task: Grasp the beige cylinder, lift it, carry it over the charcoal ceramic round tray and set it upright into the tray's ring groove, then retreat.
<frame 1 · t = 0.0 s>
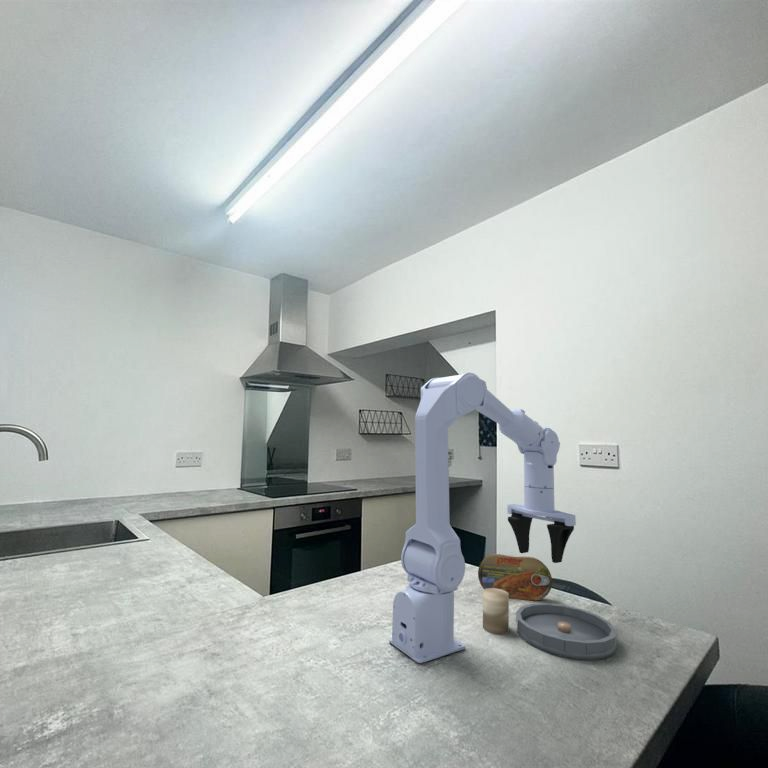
hand: (539, 557, 83), 10 cm above the worktop, tool pointing down, fingers open, 7 cm apart
round tray: (564, 636, 71), on the worktop
beige cylinder: (495, 628, 74), on the worktop
tin: (514, 597, 90), on the worktop
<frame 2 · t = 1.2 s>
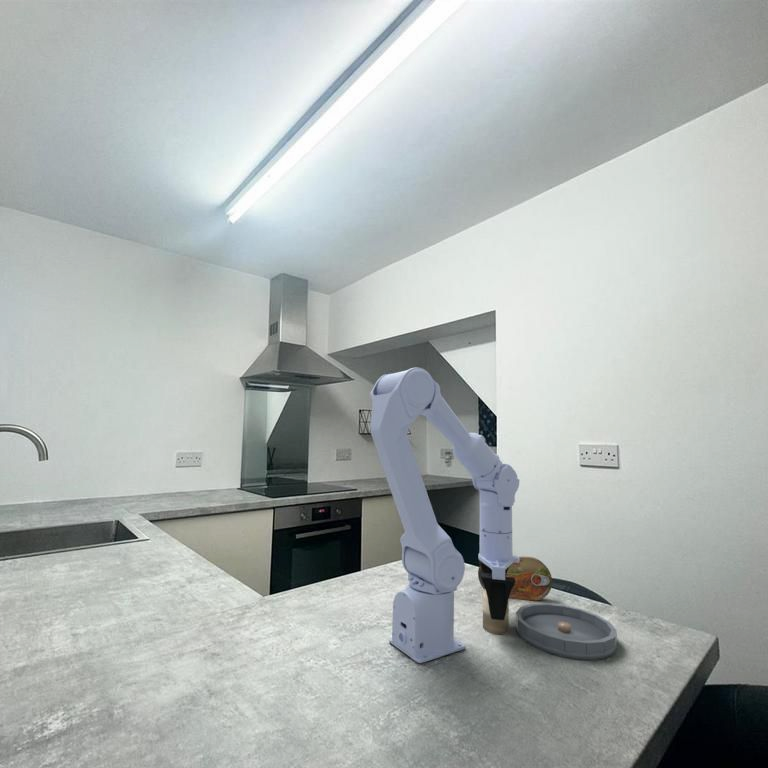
hand: (496, 610, 74), 3 cm above the worktop, tool pointing down, fingers open, 7 cm apart
nothing on the worktop moved.
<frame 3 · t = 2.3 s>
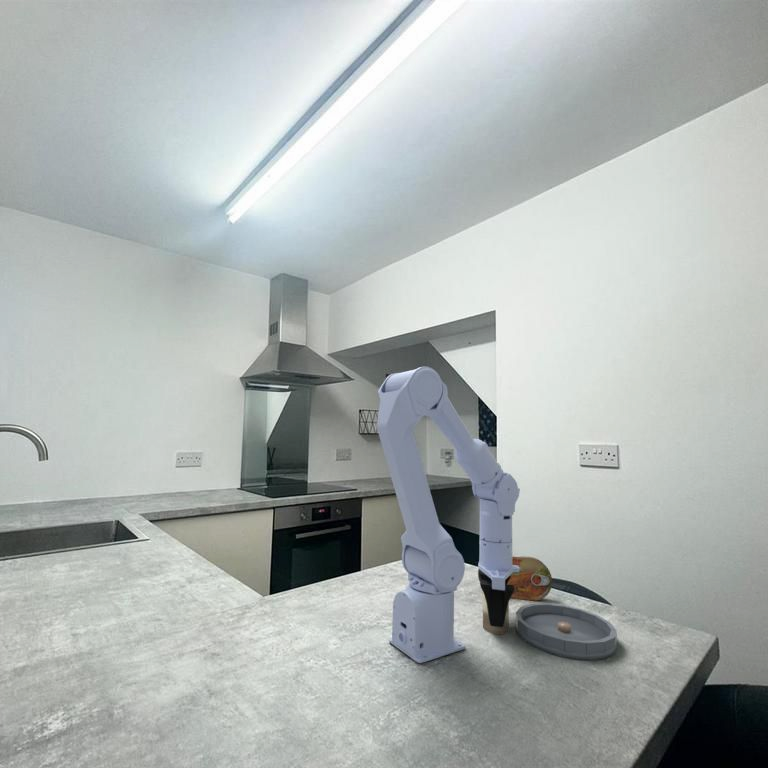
hand: (495, 619, 74), 1 cm above the worktop, tool pointing down, fingers closed on beige cylinder, 4 cm apart
beige cylinder: (495, 628, 74), on the worktop, touching gripper
everything else where it was.
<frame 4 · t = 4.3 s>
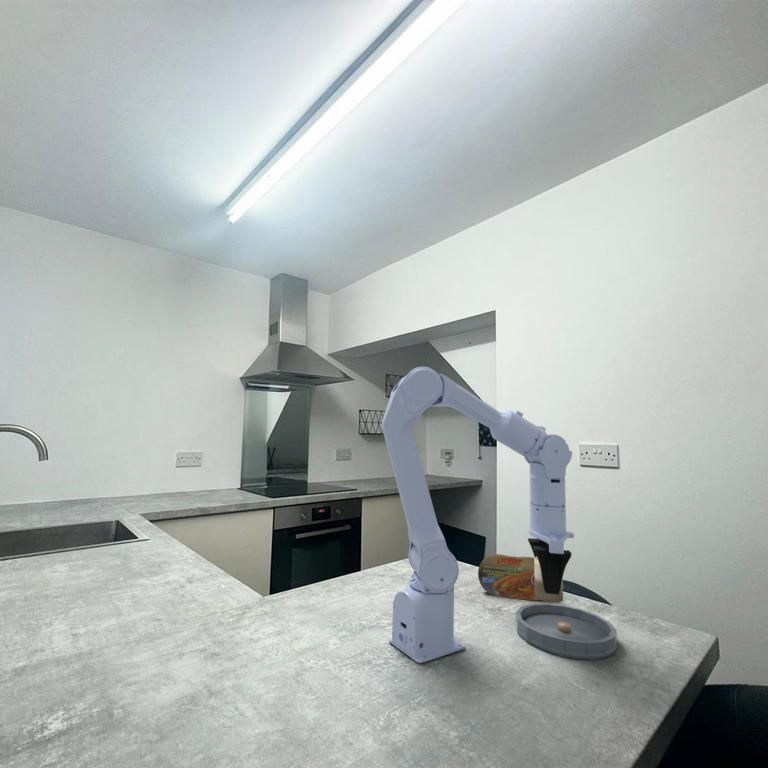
hand: (548, 588, 70), 8 cm above the worktop, tool pointing down, fingers closed on beige cylinder, 4 cm apart
beige cylinder: (548, 597, 70), point 7 cm above the worktop, touching gripper
everything else where it was.
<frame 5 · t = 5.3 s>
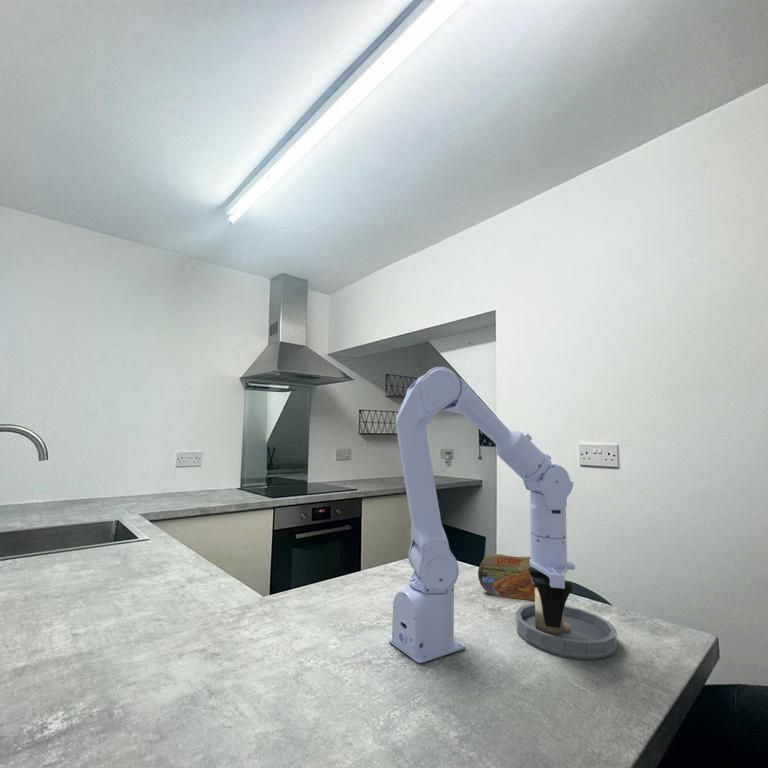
hand: (549, 620, 70), 3 cm above the worktop, tool pointing down, fingers closed on beige cylinder, 4 cm apart
beige cylinder: (549, 629, 69), point 2 cm above the worktop, touching gripper
everything else where it was.
when the fingers open (3 cm above the worktop, at t = 6.1 s): beige cylinder stays where it is, resting on round tray.
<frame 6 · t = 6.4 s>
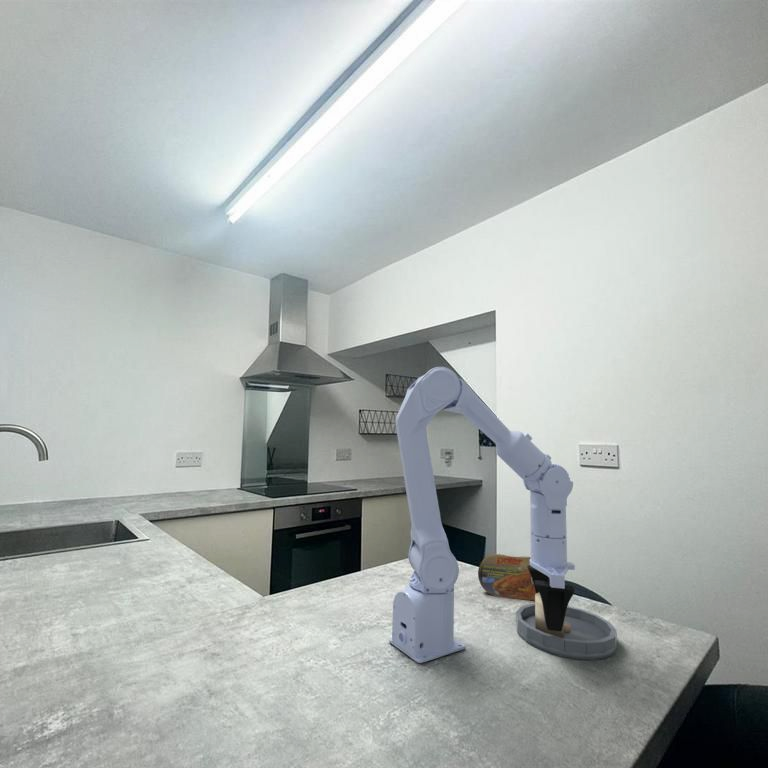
hand: (549, 620, 70), 3 cm above the worktop, tool pointing down, fingers open, 7 cm apart
beige cylinder: (549, 635, 69), point 1 cm above the worktop, touching round tray
everything else where it was.
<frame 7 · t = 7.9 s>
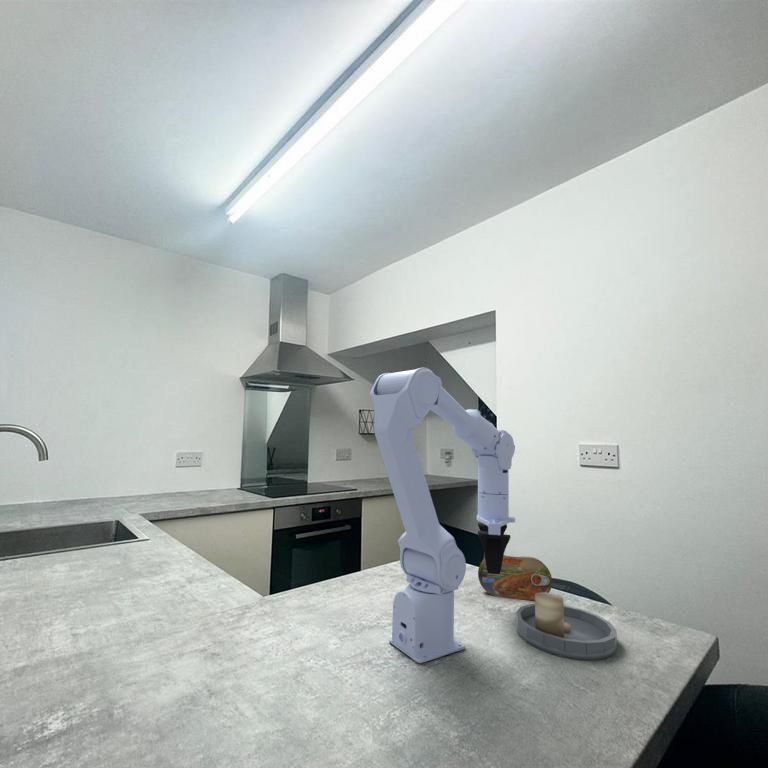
hand: (492, 567, 79), 9 cm above the worktop, tool pointing down, fingers open, 7 cm apart
nothing on the worktop moved.
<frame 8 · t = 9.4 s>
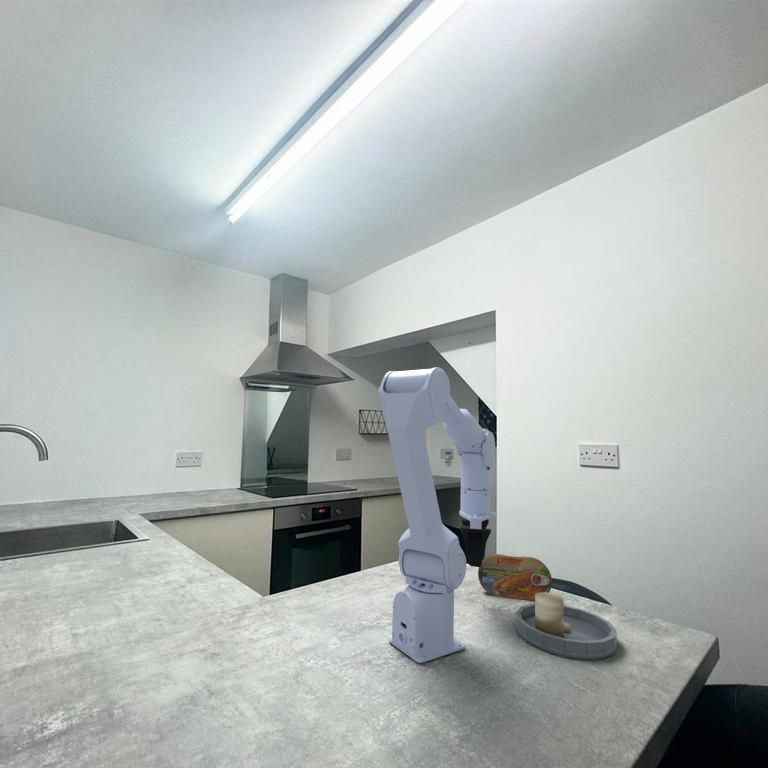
hand: (474, 560, 82), 9 cm above the worktop, tool pointing down, fingers open, 7 cm apart
nothing on the worktop moved.
at the end: beige cylinder inside the target area on the round tray (4.0 cm from its centre), point 1.0 cm above the round tray's base; beige cylinder tilted 0°; the gripper is holding nothing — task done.
